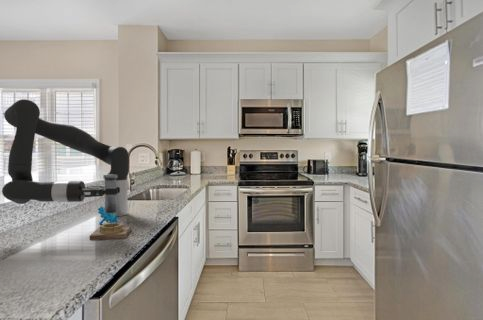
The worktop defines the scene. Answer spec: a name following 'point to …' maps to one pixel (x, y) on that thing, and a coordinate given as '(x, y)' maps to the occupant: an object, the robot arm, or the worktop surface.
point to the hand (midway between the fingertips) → (118, 190)
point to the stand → (110, 231)
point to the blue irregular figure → (107, 216)
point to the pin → (110, 199)
